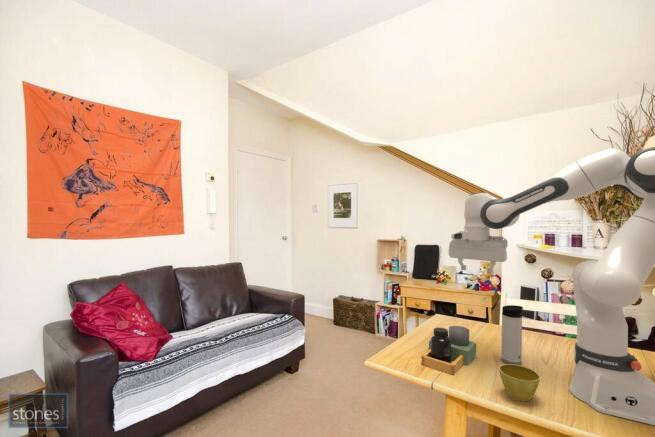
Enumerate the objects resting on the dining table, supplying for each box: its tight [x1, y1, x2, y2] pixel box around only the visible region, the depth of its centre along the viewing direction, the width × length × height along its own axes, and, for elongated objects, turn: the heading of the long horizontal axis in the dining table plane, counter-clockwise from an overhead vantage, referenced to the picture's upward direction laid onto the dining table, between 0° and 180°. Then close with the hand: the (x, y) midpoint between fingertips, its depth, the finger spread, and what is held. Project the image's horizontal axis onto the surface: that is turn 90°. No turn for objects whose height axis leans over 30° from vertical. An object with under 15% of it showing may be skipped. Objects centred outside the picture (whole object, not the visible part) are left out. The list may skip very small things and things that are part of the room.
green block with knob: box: [428, 325, 477, 366], centre depth 118 cm, size 14×10×10 cm
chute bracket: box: [421, 349, 464, 376], centre depth 110 cm, size 11×10×3 cm
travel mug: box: [500, 304, 524, 366], centre depth 113 cm, size 6×7×20 cm
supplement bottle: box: [430, 327, 452, 364], centre depth 111 cm, size 7×7×12 cm
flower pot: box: [498, 363, 541, 402], centre depth 91 cm, size 10×10×7 cm
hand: (476, 271), depth 120 cm, fingers open, 8 cm apart
